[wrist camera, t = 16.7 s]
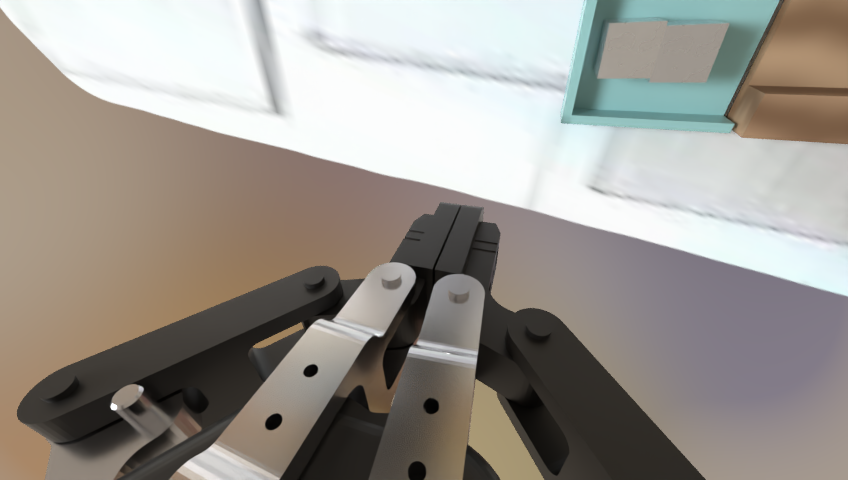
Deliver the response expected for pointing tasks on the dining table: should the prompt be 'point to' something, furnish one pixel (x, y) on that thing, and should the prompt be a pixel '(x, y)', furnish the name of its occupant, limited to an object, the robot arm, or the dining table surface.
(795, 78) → the walnut slot board
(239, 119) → the dining table surface
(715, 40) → the metal block
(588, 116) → the teal tray
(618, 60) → the metal block
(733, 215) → the dining table surface
